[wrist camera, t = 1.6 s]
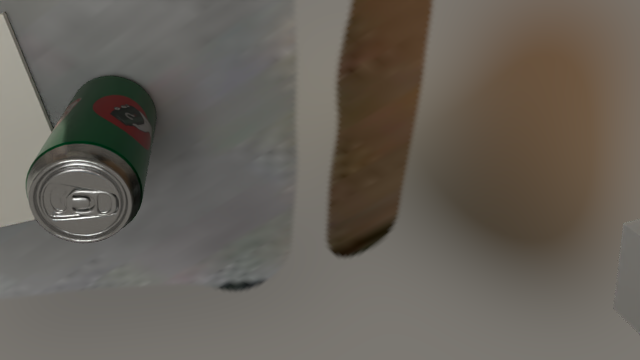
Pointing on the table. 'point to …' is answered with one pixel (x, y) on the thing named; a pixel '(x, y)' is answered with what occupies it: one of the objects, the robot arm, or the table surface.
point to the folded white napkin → (17, 128)
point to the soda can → (94, 162)
